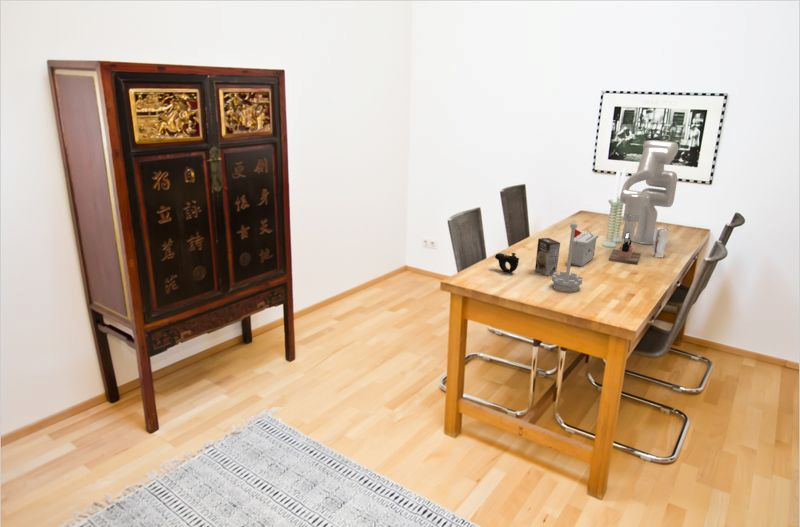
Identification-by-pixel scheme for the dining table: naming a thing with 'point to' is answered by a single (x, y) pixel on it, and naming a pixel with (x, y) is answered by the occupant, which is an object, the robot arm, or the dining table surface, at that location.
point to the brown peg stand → (617, 258)
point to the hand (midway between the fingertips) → (626, 249)
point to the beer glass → (659, 241)
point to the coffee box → (547, 256)
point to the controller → (507, 258)
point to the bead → (626, 254)
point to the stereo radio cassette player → (583, 248)
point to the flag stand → (568, 269)
